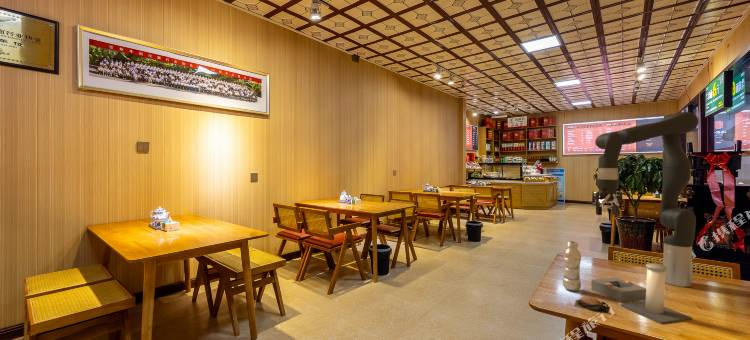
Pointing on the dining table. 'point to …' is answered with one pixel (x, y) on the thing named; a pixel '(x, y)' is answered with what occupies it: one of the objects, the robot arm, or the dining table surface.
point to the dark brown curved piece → (592, 304)
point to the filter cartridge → (655, 288)
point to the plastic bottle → (572, 267)
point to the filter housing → (619, 289)
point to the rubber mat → (663, 318)
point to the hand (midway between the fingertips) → (606, 214)
